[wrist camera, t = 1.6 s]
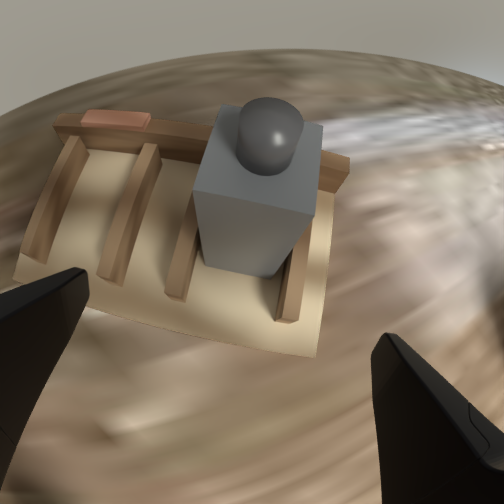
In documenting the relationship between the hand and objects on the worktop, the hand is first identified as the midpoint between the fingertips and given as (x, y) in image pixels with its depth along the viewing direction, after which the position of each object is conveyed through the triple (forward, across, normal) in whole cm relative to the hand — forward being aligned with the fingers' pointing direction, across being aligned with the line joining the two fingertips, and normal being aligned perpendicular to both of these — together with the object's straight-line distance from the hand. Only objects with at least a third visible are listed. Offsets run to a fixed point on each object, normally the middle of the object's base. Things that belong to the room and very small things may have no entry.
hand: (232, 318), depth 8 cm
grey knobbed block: (+13, 0, +4) cm, 13 cm away
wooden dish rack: (+13, +6, +4) cm, 15 cm away
